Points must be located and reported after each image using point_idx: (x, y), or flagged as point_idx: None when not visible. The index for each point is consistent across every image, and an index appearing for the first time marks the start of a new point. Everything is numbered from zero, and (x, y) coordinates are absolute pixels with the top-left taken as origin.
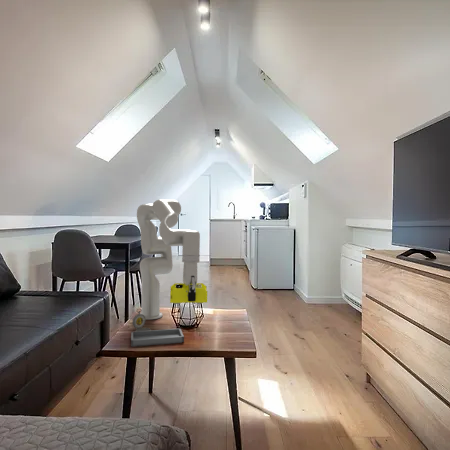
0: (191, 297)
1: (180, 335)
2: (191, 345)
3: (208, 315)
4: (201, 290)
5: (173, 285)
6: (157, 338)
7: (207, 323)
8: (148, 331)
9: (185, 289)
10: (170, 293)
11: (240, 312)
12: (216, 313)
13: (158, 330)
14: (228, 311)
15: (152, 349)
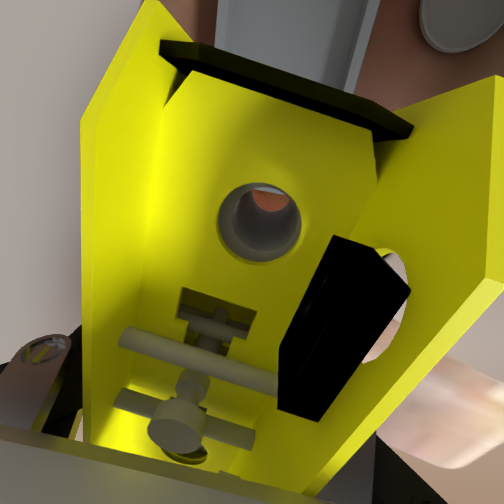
0: None
1: None
2: None
3: (480, 376)
4: None
5: (455, 190)
6: (217, 35)
7: (384, 333)
8: (367, 4)
9: (99, 340)
10: (170, 29)
11: (430, 456)
12: (481, 405)
13: (347, 76)
14: (471, 440)
15: (168, 3)
